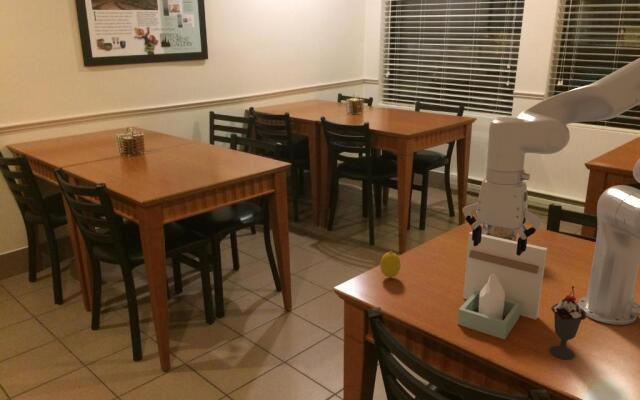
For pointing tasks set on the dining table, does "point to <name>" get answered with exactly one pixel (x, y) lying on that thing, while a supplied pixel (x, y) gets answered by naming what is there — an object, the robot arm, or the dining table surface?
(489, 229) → the coffee box
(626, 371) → the dining table surface
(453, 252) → the dining table surface
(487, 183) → the robot arm
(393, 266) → the lemon
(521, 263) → the wall holder
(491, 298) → the white bottle
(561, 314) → the sundae
